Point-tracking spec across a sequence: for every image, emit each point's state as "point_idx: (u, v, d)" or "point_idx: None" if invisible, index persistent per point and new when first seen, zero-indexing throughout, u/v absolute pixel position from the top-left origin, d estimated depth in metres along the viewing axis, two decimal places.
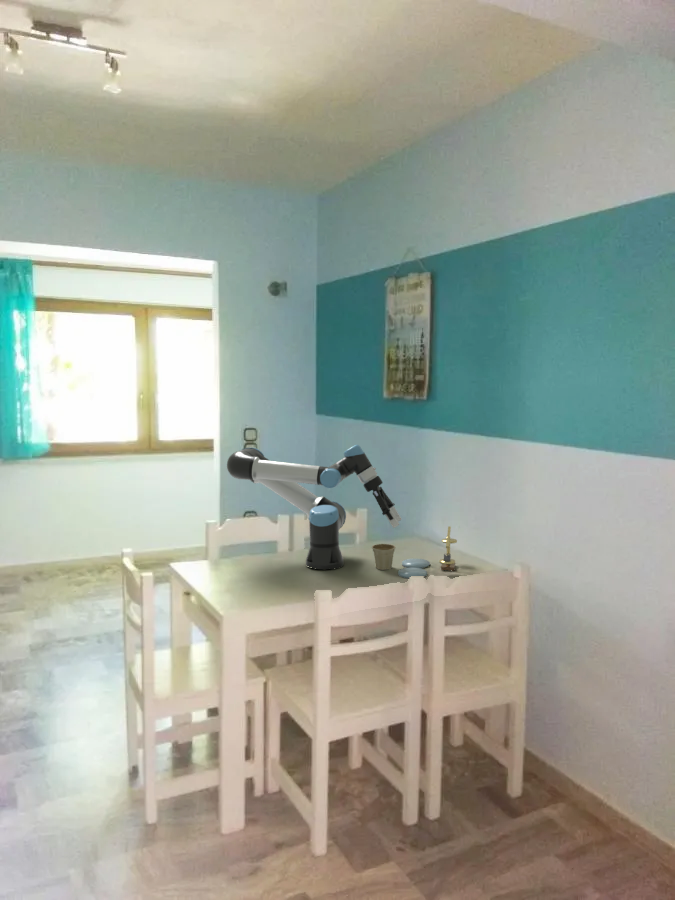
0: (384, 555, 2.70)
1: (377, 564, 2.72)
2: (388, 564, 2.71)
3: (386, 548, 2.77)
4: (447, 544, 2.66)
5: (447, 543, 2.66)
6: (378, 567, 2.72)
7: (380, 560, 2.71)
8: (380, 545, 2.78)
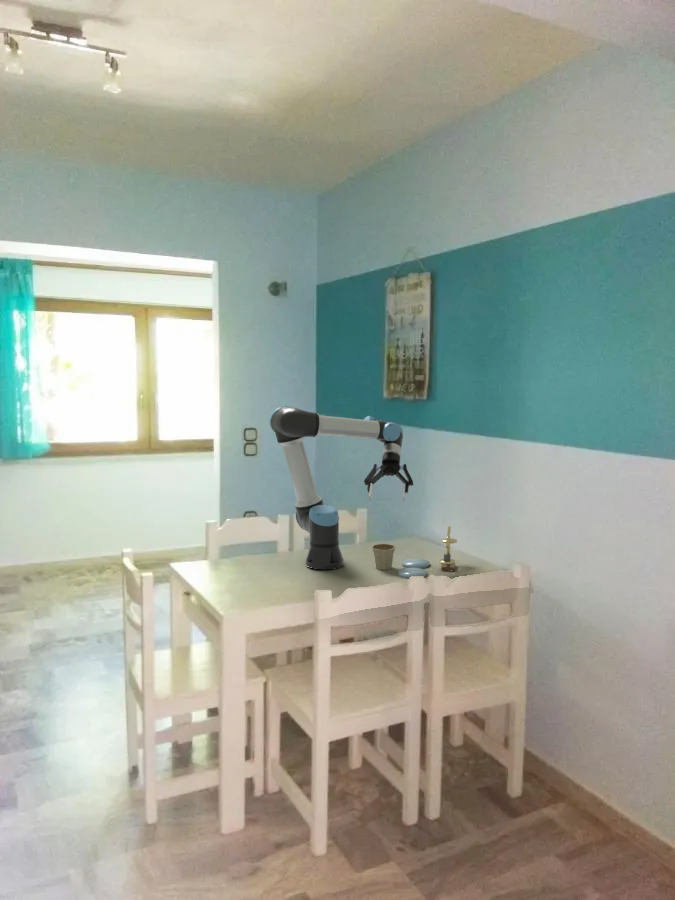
0: (384, 554, 2.70)
1: (377, 564, 2.72)
2: (388, 564, 2.71)
3: (386, 548, 2.77)
4: (447, 544, 2.66)
5: (447, 543, 2.66)
6: (378, 567, 2.72)
7: (380, 560, 2.71)
8: (380, 545, 2.78)
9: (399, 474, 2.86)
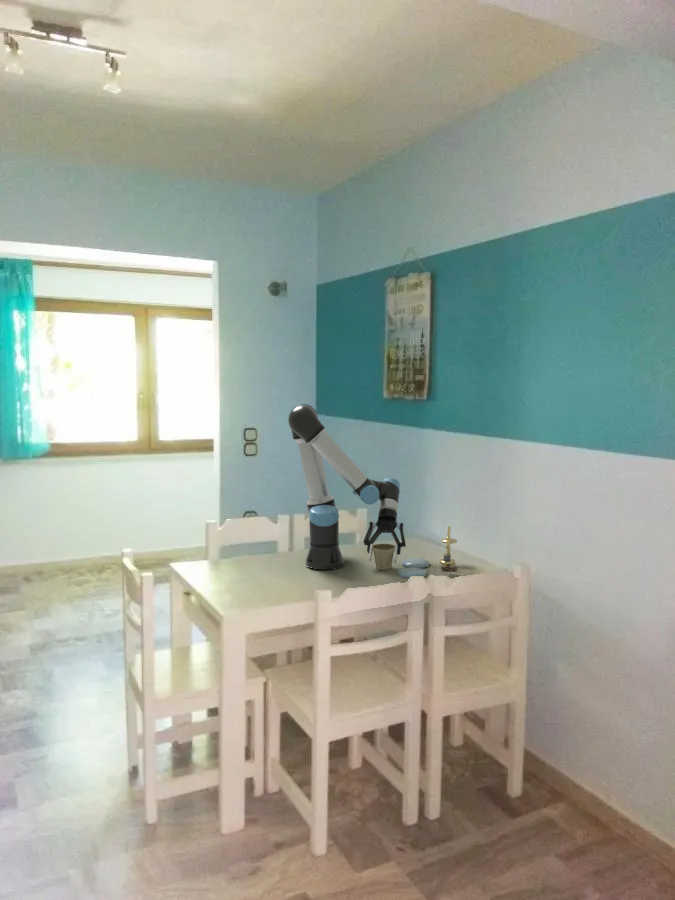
0: (383, 554, 2.70)
1: (377, 564, 2.72)
2: (388, 563, 2.71)
3: (386, 548, 2.77)
4: (447, 544, 2.66)
5: (447, 543, 2.66)
6: (378, 567, 2.72)
7: (380, 560, 2.71)
8: (379, 545, 2.78)
9: (393, 533, 2.76)
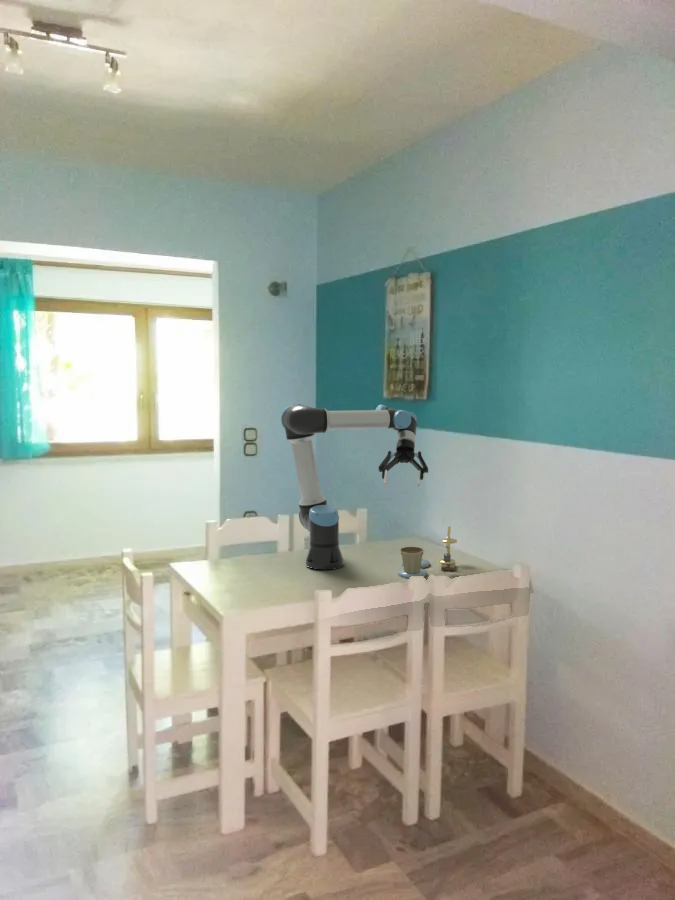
0: (412, 558, 2.61)
1: (405, 568, 2.63)
2: (417, 567, 2.62)
3: (414, 551, 2.68)
4: (447, 544, 2.66)
5: (447, 543, 2.66)
6: (406, 571, 2.63)
7: (408, 563, 2.62)
8: (407, 548, 2.69)
9: (414, 461, 2.84)
